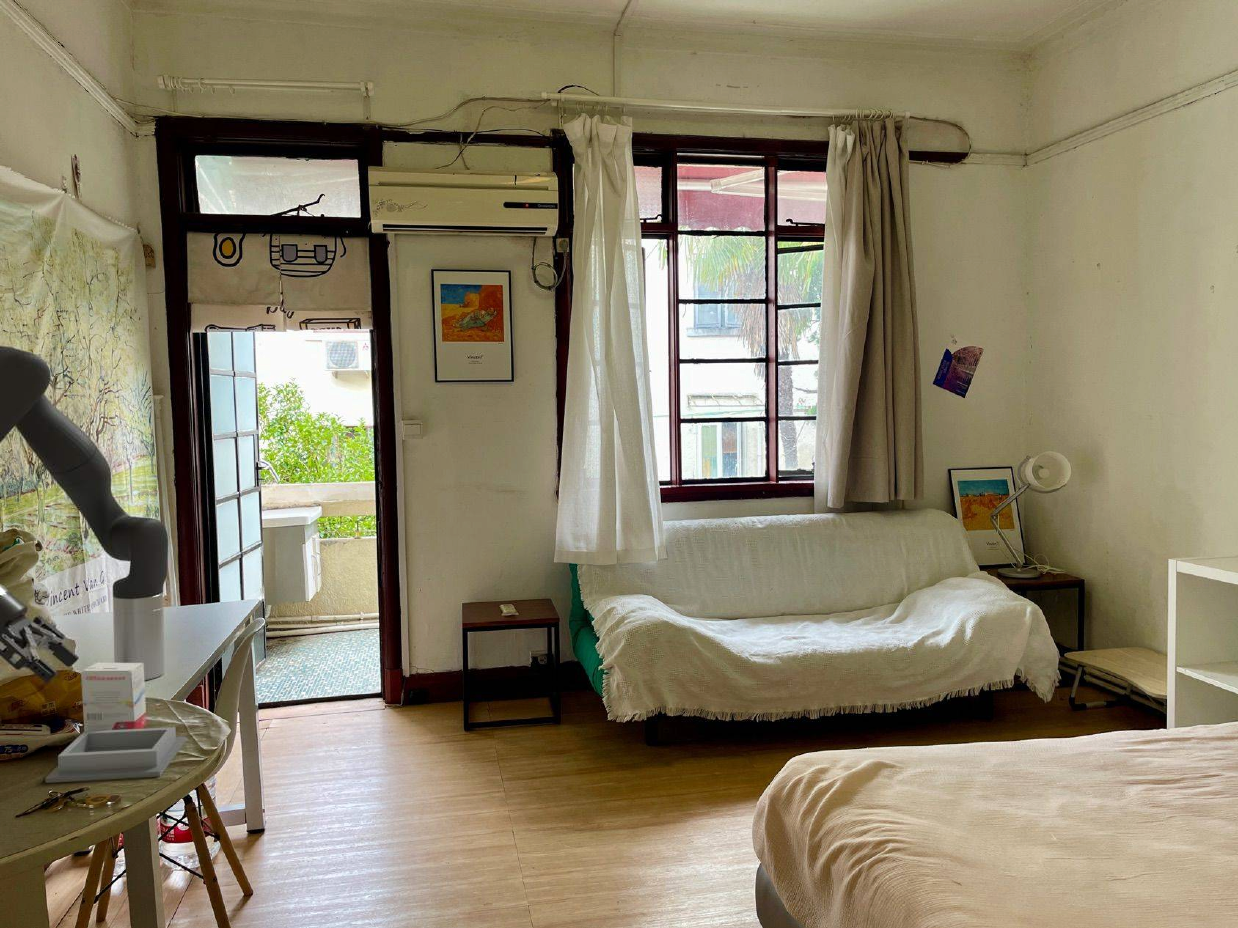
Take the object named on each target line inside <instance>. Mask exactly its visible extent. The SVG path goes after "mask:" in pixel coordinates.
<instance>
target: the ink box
mask: <svg viewBox="0 0 1238 928" xmlns="http://www.w3.org/2000/svg"><path fill="white" fill-rule="evenodd" d="M80 680H81V695H82V696H81V697H82V712H83V714H82V715H83V732H84V731H105V730H126V729H145V727H146V726H147V712H146V711H147V708H146V689H145V687H146V686H145V685H146V683H145V680H144V663H114V662H95V663H93V664H92V665H89V666H88V667H85V668H84V669H83V670H81V671H80Z"/></svg>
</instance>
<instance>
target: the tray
mask: <svg viewBox="0 0 1238 928" xmlns="http://www.w3.org/2000/svg"><path fill="white" fill-rule="evenodd" d="M186 741H187V740H186V736H177V731H176V726H172V727H153V728H152V727H151V728H147V727H146V728H143V729H126V730H105V731H84V730H83V732H82V733H81V734H80V735H78V737H76V739H75V740H73V741H72V742H71V743H70V744H69V745H68V746H67V747H66V748H65V749H64V750H63V751H62V752H61V753H60V754H58V756H57V764H58V765H57V766H56V767H55V768H54V769H53V770H52V771H51V772H50V773H49V774H48V775H47V776H46V777H45V783H46V784H49V783H51V784H52V783H65V782H66V783H67V782H69V783H70V782H81V781H82V782H86V781H103V780H104V781H105V780H118V779H120V780H121V779H122V780H123V779H139V778H155V777H161V776H162V774H163V773H164V772H165V770H166V768H168V766H169V765H170V763H171V762H172V761H173V759H174V758H175V757H176V755H177V754H178V752H179V751H180V750H181V748H182V747H183V746H184V744H186Z"/></svg>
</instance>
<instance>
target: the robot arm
mask: <svg viewBox="0 0 1238 928" xmlns="http://www.w3.org/2000/svg"><path fill="white" fill-rule="evenodd" d="M51 377H52V376H51V371H50V366H49V365H48V364H47V362H46V361H45V360H44V358H43V357H41V356H39V355H37V354H35V353H33V352H30V351H26V350H21V349H18V348H15V347H11V346H4V345H0V444H1V443H2V442H3V440H4V439H5V438H6V437H7V436H8V435H9V433H10V432H11V431H12V430H13V429H14V428H16V429H17V430H18V432H19V433H20V435H21V437H23V439H24V441H25V442H26V443H27V445H28V446H29V447H30V449H31V450H32V451H33V453H34V454H35V455H36V457H37V458H38V459H39V461H40V462H41V464H42V466H44V468H45V469H46V471H47V472H48V473H49V475H50V476H51V477H52V479H53V480H54V481H55V482H56V484H58V486H59V487H60V488H61V489H62V490H63V491H64V493H65V494H66V495H67V497H68V498H69V499H70V501H71V502H72V504H73V505H74V506H75V507H76V508H77V509H76V510H78V511H79V512H80V514H81V515H82V516H83V518H84V520H85V521H86V523H87V524H88V526H89V528H90V529H91V531H92V533H93V534H94V536H95V538H96V540H97V542H98V543H99V544H100V546H101V547H102V550H103V551H104V552H105V553H106V554H107V555H108V556H109V557H111V558H112V559H114V560H118V561H124V562H130V563H129V571H128V574H127V576H125V577H122V578H119V579H117V580H115V581H114V582H113V584H112V611H113V613H112V615H113V618H112V619H113V621H112V623H113V663H144V681H148V680H153V679H155V678H158V677H160V676H162V675H163V674H165V672H166V671H165V668H166V667H165V628H164V627H165V624H164V623H165V619H164V618H165V615H164V610H165V608H164V585H165V582H166V578H167V574H168V557H169V536H168V535H169V534H168V531H167V528H166V526H165V524H164V523H163V522H162V521H161V520H160V519H158V518H152V517H143V516H131V515H130V514H128V513H127V512H126V511H125V510H124V509H123V508H122V507H121V505H120V503H118V501H117V500H116V498H115V496H114V494H113V493H112V472H111V467H110V464H109V462H108V460H107V459H106V458H105V456H104V455H103V453H102V452H101V451H100V449H99V447H97V445H96V444H95V442H94V441H93V440H92V439H91V437H90V436H89V435H88V434H87V433H86V432H85V431H84V430H83V429H81V428H80V426H78V425H77V424H76V423H75V422H74V421H72V420H71V419H70V418H69V417H68V416H67V415H65V414H64V413H63V412H62V411H60V410H59V409H58V408H57V407H56V406H55V405H54V404H53V403H52V402H51V400H50V399H49V398H48V397H47V396H46V394H45V393H46V391H47V389H48V388H49V385H50V382H51ZM28 611H29V607H28V605H26V604H25V603H24V602H23V601H21V600H20V599H19V598H18V597H16V596H15V595H14V594H13V593H12V592H11V591H9V590H8V589H7V588H6V587H5V586H3V585H2V584H1V583H0V657H1V658H2V659H3V660H5V661H6V662H7V663H8V664H9V665H10V666H12V668H14V669H15V670H17V671H20V670H21V669H25V670H30V671H31V672H33V674H34V675H36V676H37V677H38V678H40V679H41V680H42V681H43V682H45V683H49V682H51V681H52V680H53V679H54V678H55V677H56V676H57V675H58V671H57V670H56V669H55V668H54V667H53V666H51V665H50V664H49V663H48V662H47V661H45V660H44V659H43V658H42V657H41V658H40V655H39V654H38V651H41V650H44V651H46V652H48V653H51V654H52V656H54V657H55V658H56V659H58V660H59V661H60V662H61V663H62V664H63V665H65V666H66V667H67V668H70V667H71V666H73V665H74V664H75V663H76V662H77V661H78V660H79V656H78V655H77V654H76V653H75V652H74V651H72V650H71V649H70V648H69V647H68V646H66V644H64V642H65V641H64V639H65V638H66V635H65V634H64V633H63V632H61V631H60V630H59V629H57V628H56V627H55V626H54V625H53V624H51V623H50V622H49V621H47V620H46V619H45V618H44V617H43V616H41V615H38V614H37V615H36V616H35V617H34V618H33V619H31V620H30V619H29V618H27V617H26V616H25V615H26V614H27V613H28Z"/></svg>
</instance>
